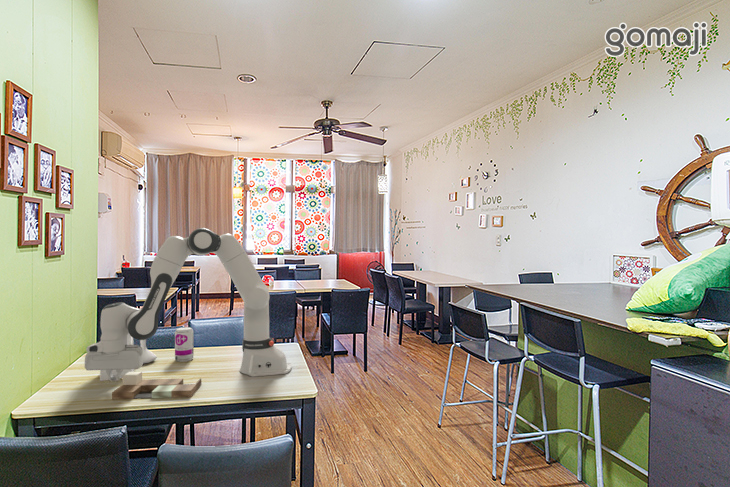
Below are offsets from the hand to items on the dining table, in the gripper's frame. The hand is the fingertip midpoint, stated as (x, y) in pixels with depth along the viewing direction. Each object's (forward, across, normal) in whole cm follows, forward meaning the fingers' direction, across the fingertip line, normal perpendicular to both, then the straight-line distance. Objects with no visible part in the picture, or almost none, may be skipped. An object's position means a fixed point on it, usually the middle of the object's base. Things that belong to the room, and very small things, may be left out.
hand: (114, 380), depth 162 cm
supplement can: (+4, -14, -38) cm, 41 cm away
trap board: (+4, -18, +3) cm, 18 cm away
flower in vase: (+4, +3, -35) cm, 36 cm away
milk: (+4, +7, -18) cm, 20 cm away
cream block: (+1, -7, 0) cm, 7 cm away
